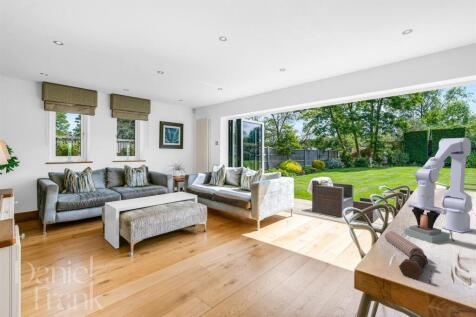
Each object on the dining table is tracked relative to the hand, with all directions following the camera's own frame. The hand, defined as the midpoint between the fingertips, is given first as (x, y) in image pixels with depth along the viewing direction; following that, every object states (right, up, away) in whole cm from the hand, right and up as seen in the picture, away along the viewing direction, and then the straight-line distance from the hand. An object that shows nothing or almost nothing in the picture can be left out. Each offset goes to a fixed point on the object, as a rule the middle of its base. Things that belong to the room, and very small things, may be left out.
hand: (425, 226), depth 102 cm
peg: (0, -2, 0) cm, 2 cm away
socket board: (+1, -5, +1) cm, 5 cm away
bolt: (-25, -6, -28) cm, 38 cm away
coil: (-19, -6, -13) cm, 24 cm away
